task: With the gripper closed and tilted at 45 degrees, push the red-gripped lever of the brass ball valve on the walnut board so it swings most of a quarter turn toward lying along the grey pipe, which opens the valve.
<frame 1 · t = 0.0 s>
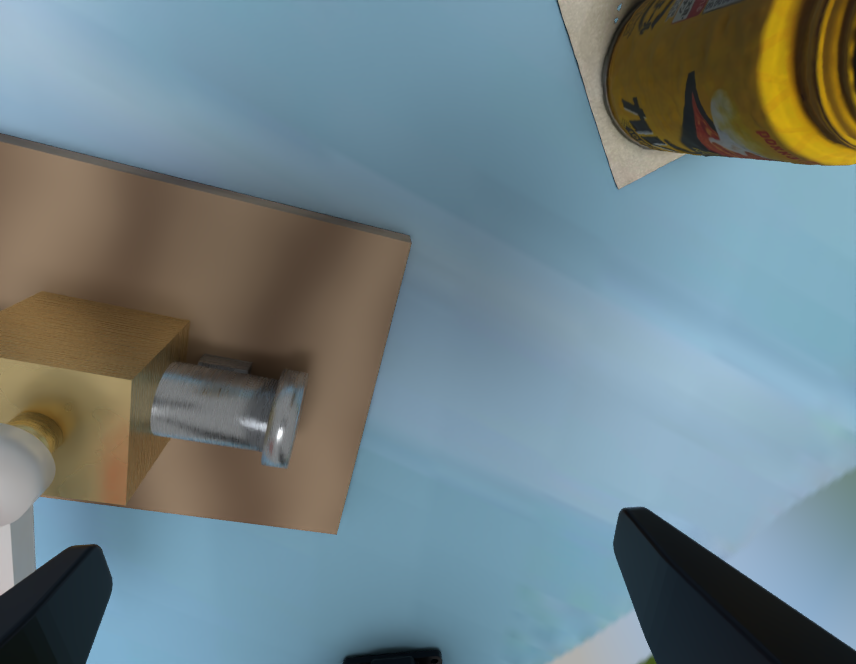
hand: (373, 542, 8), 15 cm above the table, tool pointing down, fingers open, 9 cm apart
mounting board: (132, 347, 22), on the table
ball valve: (72, 400, 18), on the mounting board, point 5 cm above the table
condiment: (666, 48, 19), on the table
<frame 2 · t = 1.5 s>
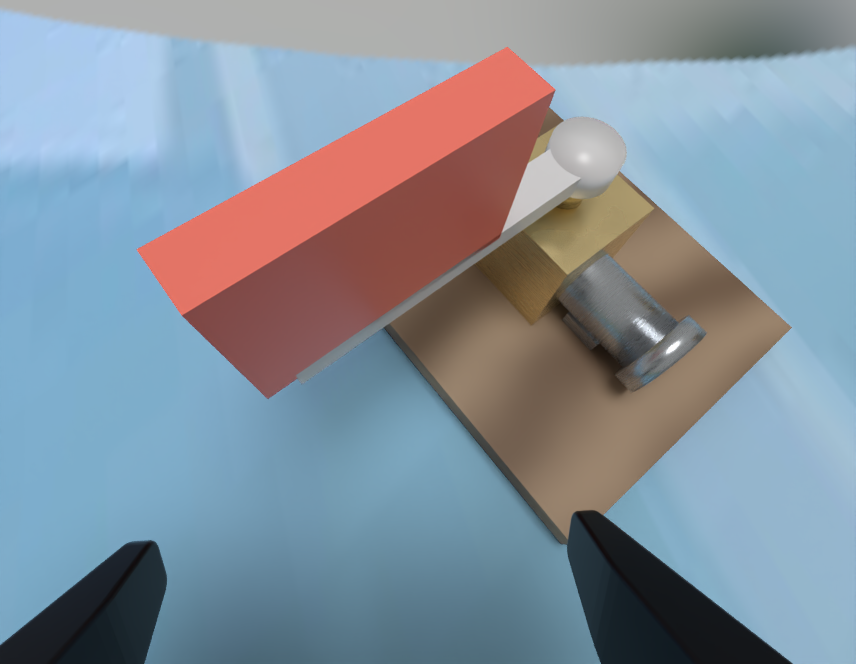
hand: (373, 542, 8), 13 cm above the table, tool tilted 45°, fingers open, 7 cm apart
valve lever: (466, 191, 14), point 12 cm above the table, hinge at 0.0°
mounting board: (523, 271, 26), on the table
ball valve: (549, 221, 22), on the mounting board, point 5 cm above the table
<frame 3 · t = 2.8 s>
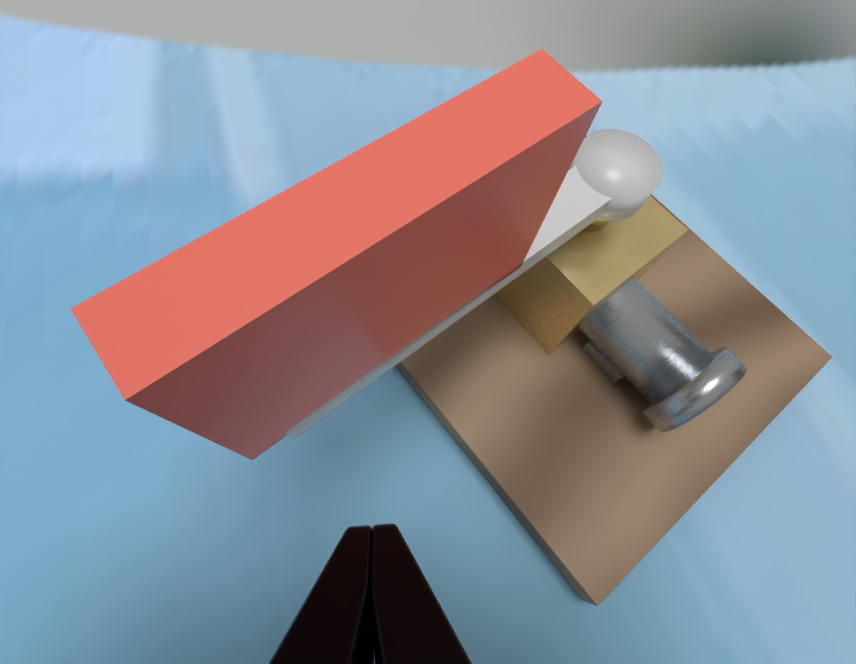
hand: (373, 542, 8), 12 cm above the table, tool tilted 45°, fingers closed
valve lever: (486, 218, 12), point 12 cm above the table, hinge at 0.0°
mounting board: (538, 293, 24), on the table
ball valve: (569, 242, 20), on the mounting board, point 5 cm above the table
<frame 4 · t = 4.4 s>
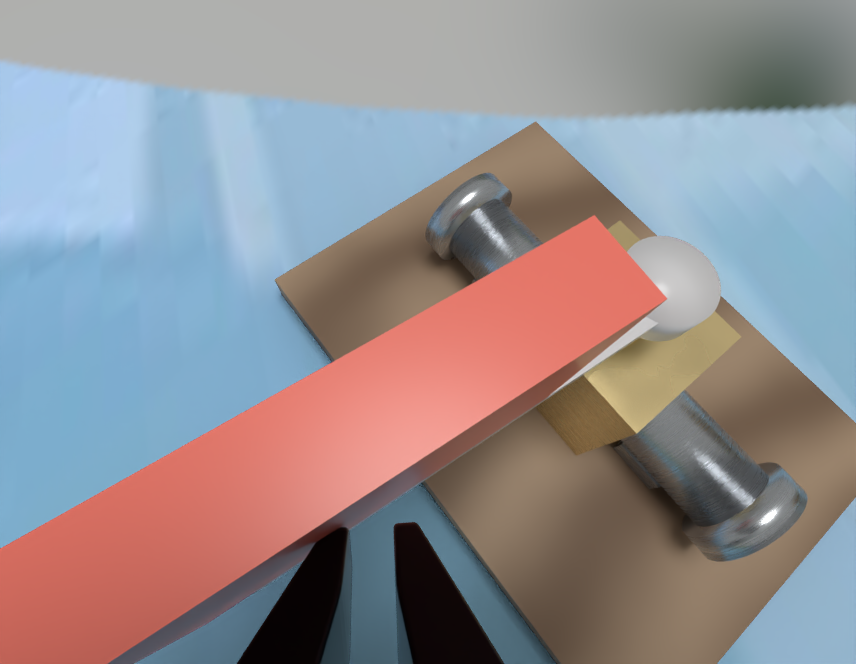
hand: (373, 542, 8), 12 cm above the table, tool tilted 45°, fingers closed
valve lever: (506, 370, 10), point 12 cm above the table, hinge at 5.5°, touching gripper
mounting board: (562, 374, 22), on the table
ball valve: (603, 338, 18), on the mounting board, point 5 cm above the table
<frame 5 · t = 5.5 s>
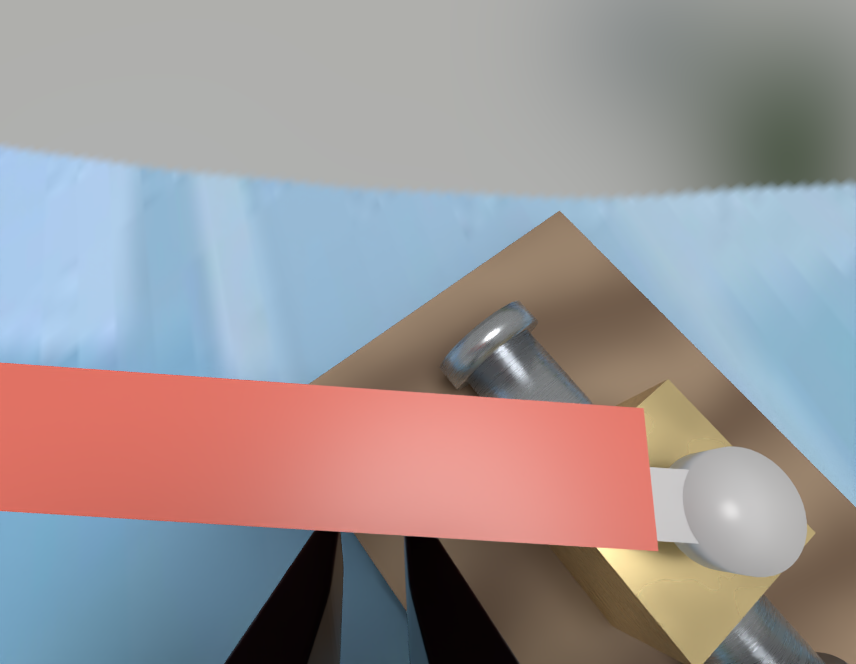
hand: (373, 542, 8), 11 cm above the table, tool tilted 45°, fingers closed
valve lever: (489, 485, 9), point 12 cm above the table, hinge at 41.5°, touching gripper
mounting board: (592, 511, 20), on the table
ball valve: (646, 510, 15), on the mounting board, point 5 cm above the table
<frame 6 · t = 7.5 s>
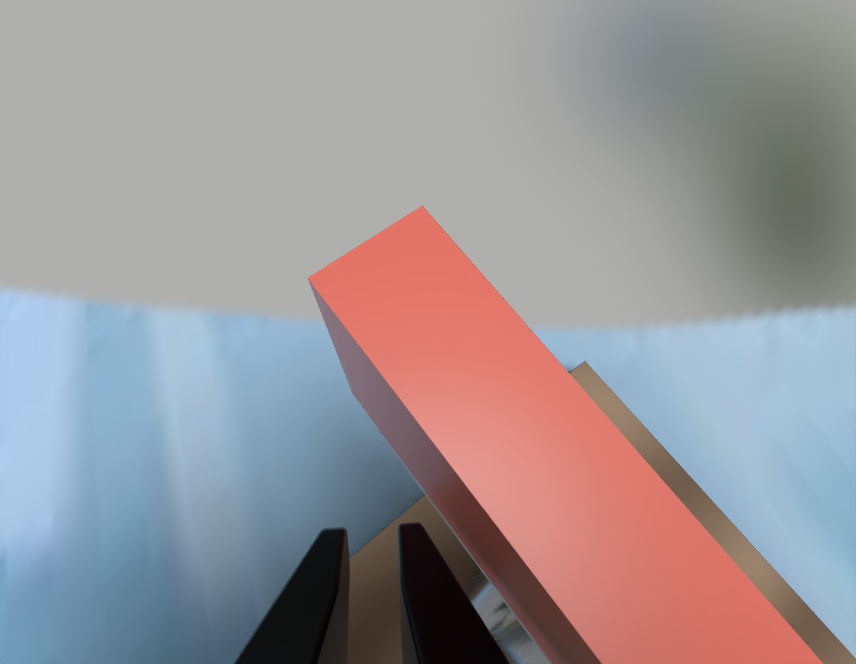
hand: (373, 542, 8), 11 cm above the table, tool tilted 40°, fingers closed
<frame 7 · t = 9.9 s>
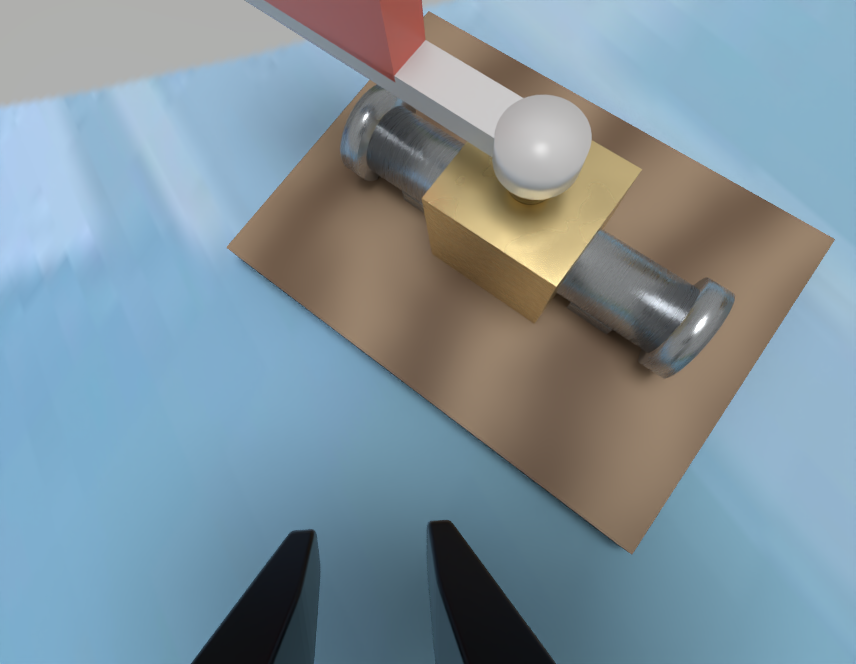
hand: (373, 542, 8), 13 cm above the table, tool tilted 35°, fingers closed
mounting board: (512, 255, 23), on the table
ball valve: (523, 210, 19), on the mounting board, point 5 cm above the table
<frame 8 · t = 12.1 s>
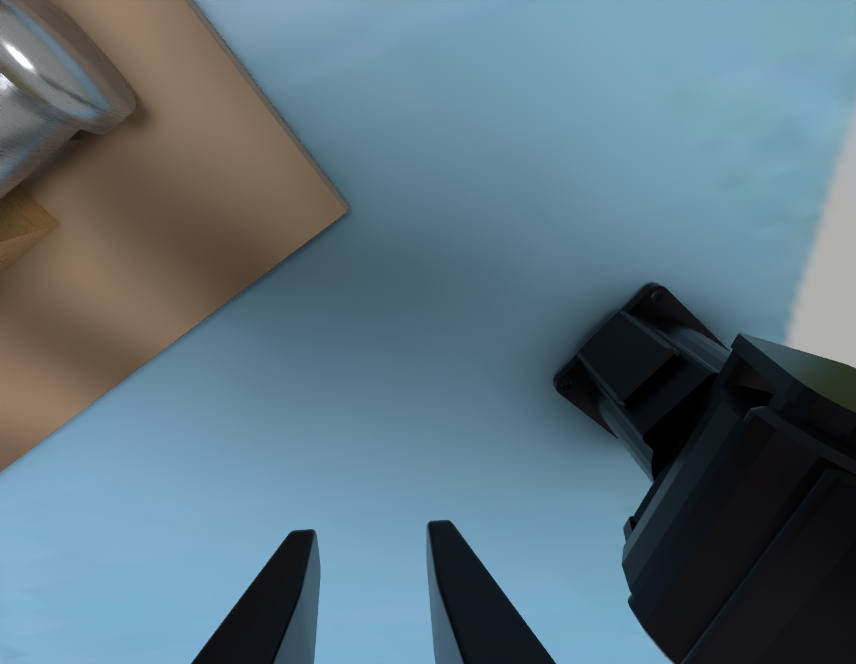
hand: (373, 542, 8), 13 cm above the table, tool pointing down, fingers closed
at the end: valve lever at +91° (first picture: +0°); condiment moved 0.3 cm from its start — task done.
